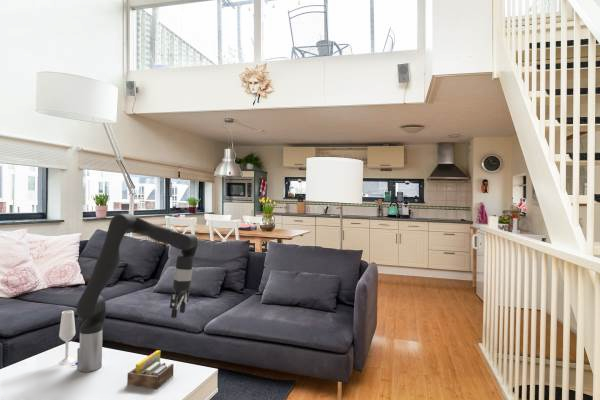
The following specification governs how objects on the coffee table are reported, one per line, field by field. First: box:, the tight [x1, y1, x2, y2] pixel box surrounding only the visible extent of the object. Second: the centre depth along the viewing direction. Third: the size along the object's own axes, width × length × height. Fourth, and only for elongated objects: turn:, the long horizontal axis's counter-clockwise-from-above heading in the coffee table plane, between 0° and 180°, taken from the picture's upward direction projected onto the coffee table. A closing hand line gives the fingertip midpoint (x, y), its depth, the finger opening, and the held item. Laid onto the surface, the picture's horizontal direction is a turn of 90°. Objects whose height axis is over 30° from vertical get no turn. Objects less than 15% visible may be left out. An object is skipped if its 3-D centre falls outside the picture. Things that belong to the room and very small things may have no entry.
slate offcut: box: [153, 365, 168, 376], centre depth 158 cm, size 2×7×6 cm, turn 168°
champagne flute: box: [58, 309, 76, 365], centre depth 176 cm, size 7×7×24 cm
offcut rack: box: [126, 362, 174, 390], centre depth 159 cm, size 14×12×5 cm
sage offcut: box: [146, 361, 161, 375], centre depth 160 cm, size 2×8×6 cm, turn 168°
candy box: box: [135, 349, 162, 374], centre depth 164 cm, size 16×2×8 cm, turn 168°
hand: (178, 315), depth 162 cm, fingers open, 8 cm apart
